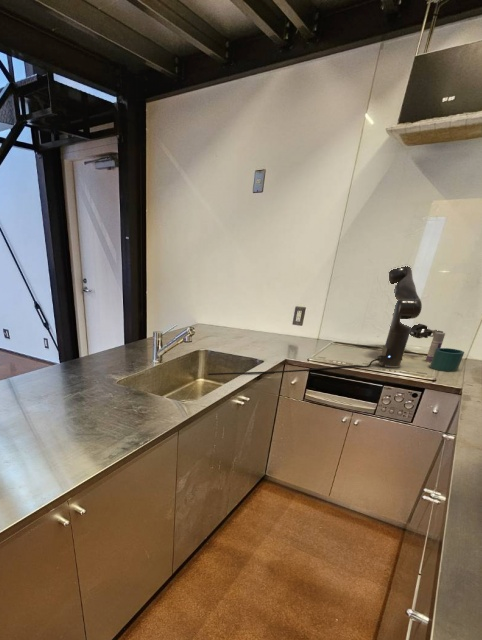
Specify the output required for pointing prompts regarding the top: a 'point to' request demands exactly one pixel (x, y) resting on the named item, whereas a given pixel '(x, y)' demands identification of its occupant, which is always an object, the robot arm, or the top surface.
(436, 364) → the teal pen cup
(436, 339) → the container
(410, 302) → the robot arm
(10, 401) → the top surface
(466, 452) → the top surface
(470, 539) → the top surface
